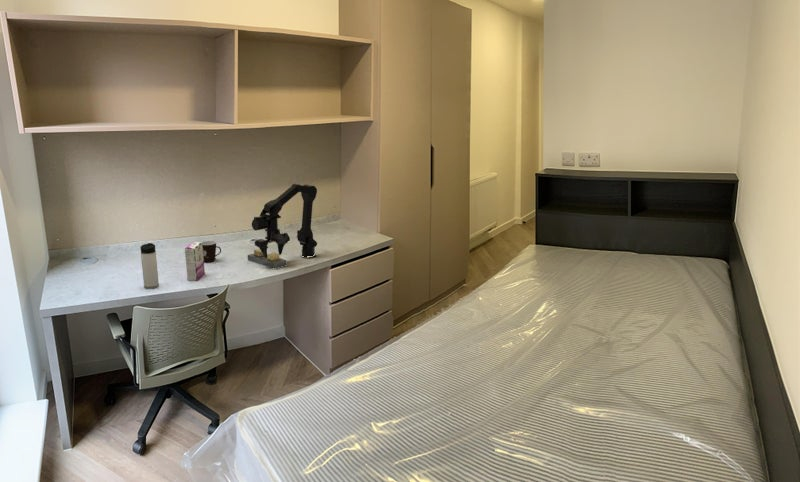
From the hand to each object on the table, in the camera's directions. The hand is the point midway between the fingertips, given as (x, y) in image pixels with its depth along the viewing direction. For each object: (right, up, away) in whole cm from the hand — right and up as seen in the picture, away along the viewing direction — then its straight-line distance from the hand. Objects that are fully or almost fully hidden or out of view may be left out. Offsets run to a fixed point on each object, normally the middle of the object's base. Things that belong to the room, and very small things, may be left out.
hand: (273, 256), depth 303 cm
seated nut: (-9, -3, +8) cm, 12 cm away
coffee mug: (-34, -3, +4) cm, 35 cm away
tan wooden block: (0, -5, +1) cm, 5 cm away
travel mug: (-49, -13, -34) cm, 61 cm away
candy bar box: (-33, -10, -20) cm, 40 cm away
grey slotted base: (-4, -3, +5) cm, 7 cm away
